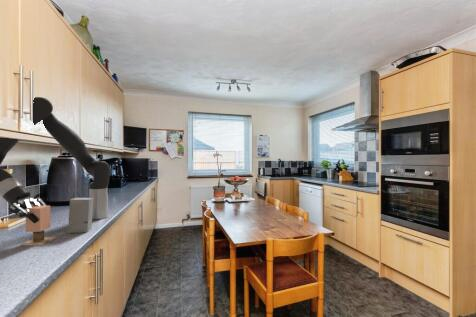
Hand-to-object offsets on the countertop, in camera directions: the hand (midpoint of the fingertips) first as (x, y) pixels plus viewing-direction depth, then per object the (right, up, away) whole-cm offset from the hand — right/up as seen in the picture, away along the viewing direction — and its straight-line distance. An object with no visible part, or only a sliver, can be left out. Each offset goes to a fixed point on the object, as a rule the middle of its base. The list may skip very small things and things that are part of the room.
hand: (42, 219), depth 98 cm
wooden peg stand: (-2, -9, 0) cm, 10 cm away
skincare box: (+6, -10, +15) cm, 19 cm away
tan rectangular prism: (-2, -4, 0) cm, 5 cm away
